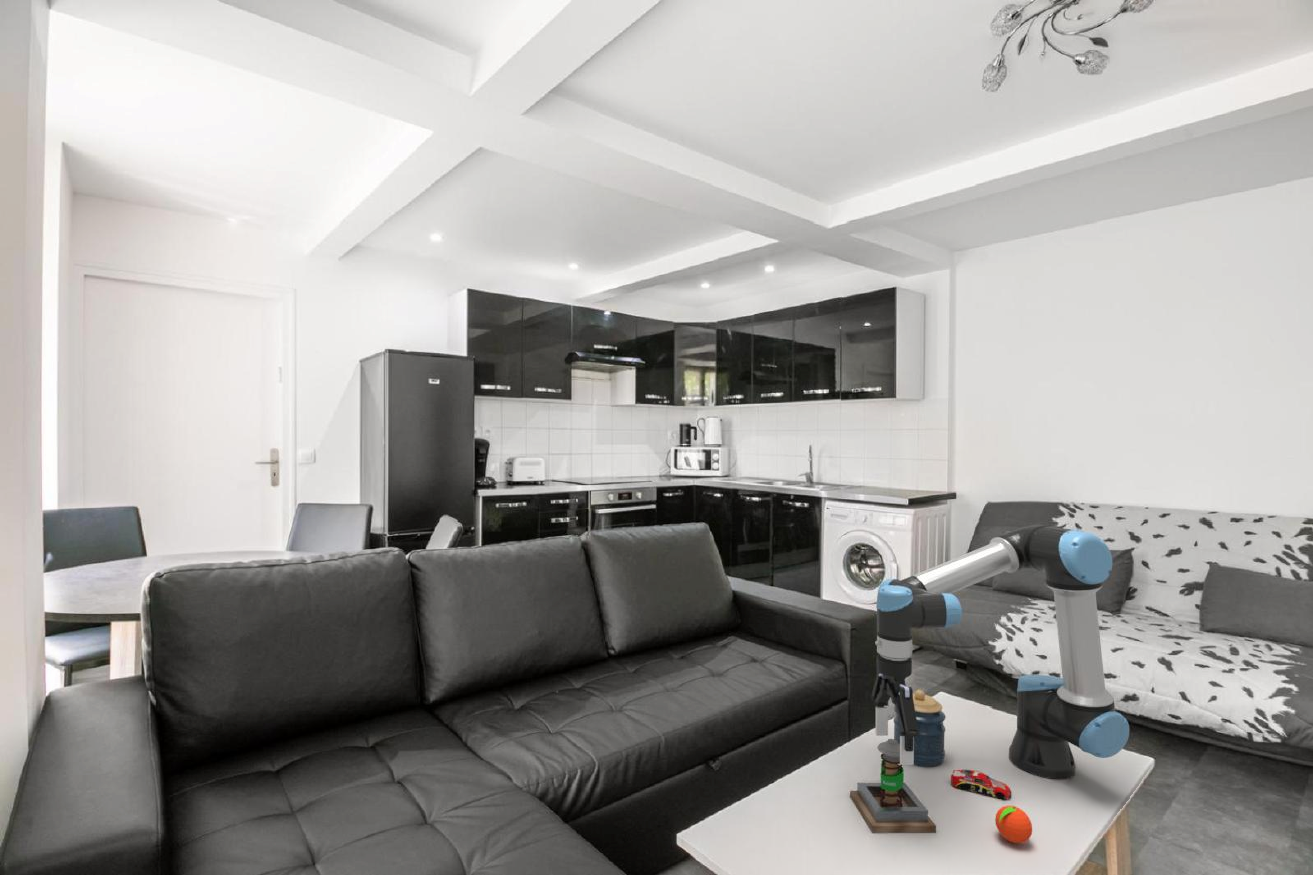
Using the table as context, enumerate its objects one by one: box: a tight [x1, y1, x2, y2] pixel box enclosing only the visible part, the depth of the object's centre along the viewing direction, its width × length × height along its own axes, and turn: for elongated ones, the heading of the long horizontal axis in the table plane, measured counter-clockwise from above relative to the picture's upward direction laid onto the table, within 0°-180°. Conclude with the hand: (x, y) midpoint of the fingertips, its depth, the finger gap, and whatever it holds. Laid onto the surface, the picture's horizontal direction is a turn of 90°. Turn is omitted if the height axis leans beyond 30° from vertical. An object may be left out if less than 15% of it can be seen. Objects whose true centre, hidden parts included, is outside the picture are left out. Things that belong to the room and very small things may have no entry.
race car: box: [950, 769, 1012, 801], centre depth 156 cm, size 13×5×4 cm, turn 61°
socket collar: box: [856, 782, 929, 823], centre depth 145 cm, size 12×12×2 cm
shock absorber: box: [876, 738, 905, 807], centre depth 145 cm, size 6×6×15 cm
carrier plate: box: [849, 790, 937, 834], centre depth 145 cm, size 14×14×2 cm
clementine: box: [994, 804, 1033, 844], centre depth 136 cm, size 8×7×7 cm
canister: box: [893, 689, 946, 767], centre depth 173 cm, size 13×13×18 cm
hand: (893, 749), depth 145 cm, fingers open, 13 cm apart
